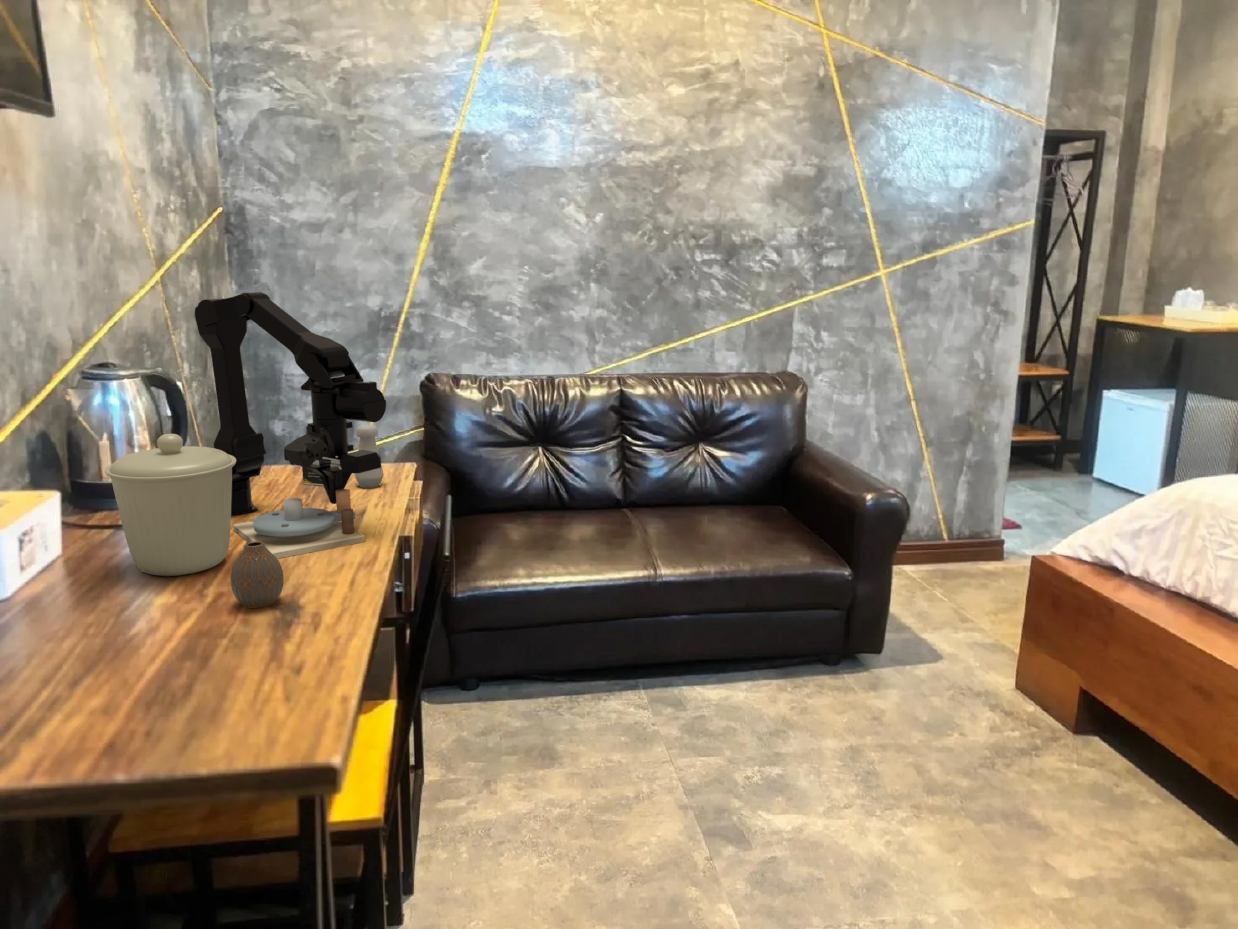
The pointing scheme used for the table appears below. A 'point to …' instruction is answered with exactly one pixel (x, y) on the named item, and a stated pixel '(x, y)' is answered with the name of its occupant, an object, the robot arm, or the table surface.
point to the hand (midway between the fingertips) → (334, 503)
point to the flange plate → (299, 525)
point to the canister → (174, 506)
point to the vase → (256, 576)
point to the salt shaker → (368, 443)
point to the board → (306, 537)
